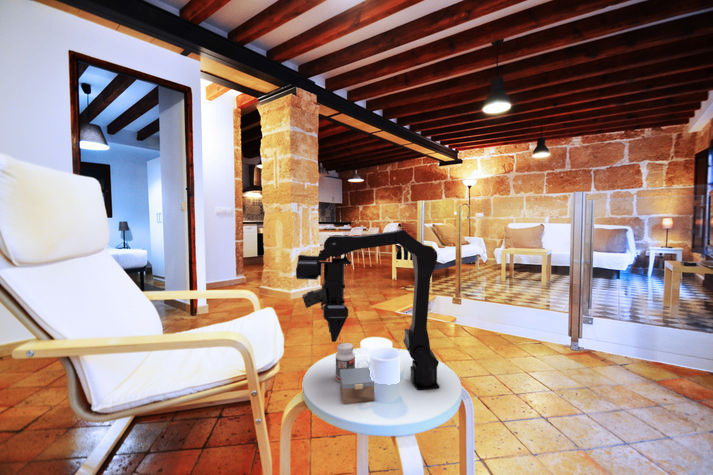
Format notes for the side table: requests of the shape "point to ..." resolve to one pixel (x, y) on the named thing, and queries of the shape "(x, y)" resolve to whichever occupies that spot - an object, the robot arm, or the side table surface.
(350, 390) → the walnut box
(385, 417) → the side table surface
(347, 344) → the pill bottle
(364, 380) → the box lid
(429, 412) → the side table surface
